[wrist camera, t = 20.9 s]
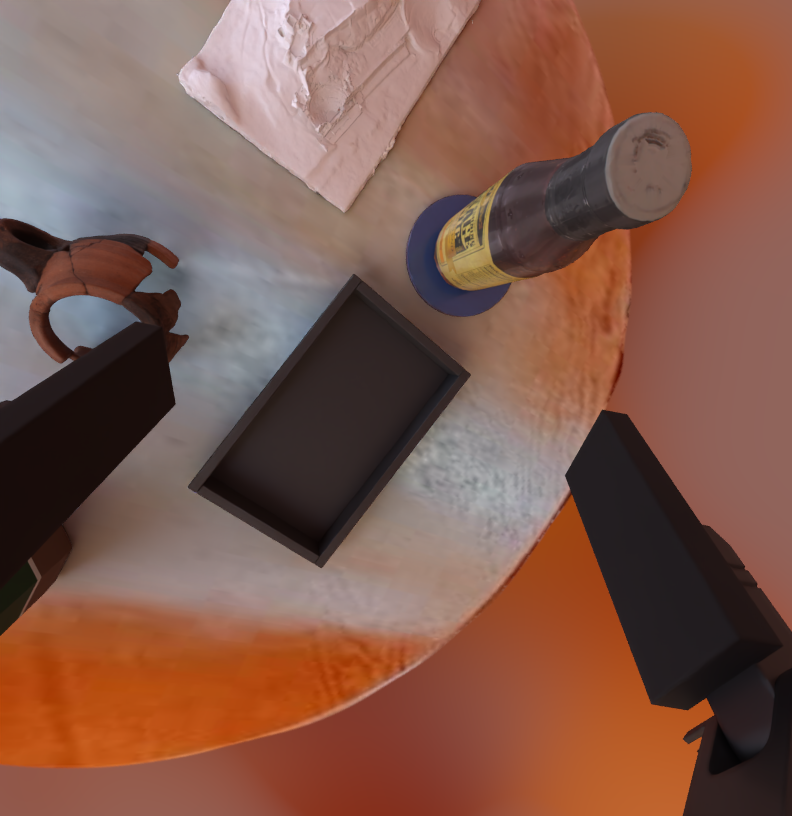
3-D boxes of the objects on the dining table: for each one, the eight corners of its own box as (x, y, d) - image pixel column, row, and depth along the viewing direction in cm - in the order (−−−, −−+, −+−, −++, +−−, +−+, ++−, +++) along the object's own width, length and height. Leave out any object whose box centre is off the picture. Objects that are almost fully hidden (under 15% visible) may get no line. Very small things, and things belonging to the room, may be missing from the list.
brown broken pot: (223, 270, 32) (202, 319, 26) (174, 355, 36) (145, 416, 30) (39, 159, 26) (-47, 189, 20) (4, 276, 30) (-77, 332, 24)
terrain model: (176, 120, 30) (149, 80, 25) (305, -198, 28) (303, -307, 23) (375, 235, 34) (385, 219, 30) (500, -35, 32) (533, -99, 28)
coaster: (382, 263, 34) (383, 262, 33) (455, 170, 34) (457, 167, 34) (467, 340, 37) (469, 340, 36) (534, 253, 37) (538, 251, 36)
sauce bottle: (458, 201, 34) (658, 19, 15) (511, 250, 36) (752, 143, 17) (413, 264, 34) (555, 165, 15) (468, 311, 36) (659, 274, 17)
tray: (196, 476, 33) (186, 487, 31) (350, 278, 34) (354, 273, 31) (320, 552, 37) (321, 568, 34) (459, 372, 37) (471, 374, 34)
